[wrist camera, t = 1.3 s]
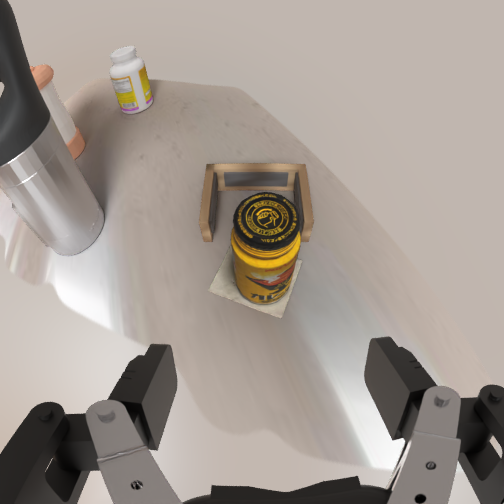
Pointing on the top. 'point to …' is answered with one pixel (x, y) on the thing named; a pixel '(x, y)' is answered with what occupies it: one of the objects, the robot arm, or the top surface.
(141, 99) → the supplement bottle
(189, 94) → the top surface
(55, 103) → the pepper shaker
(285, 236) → the condiment
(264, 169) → the light wood low tray
